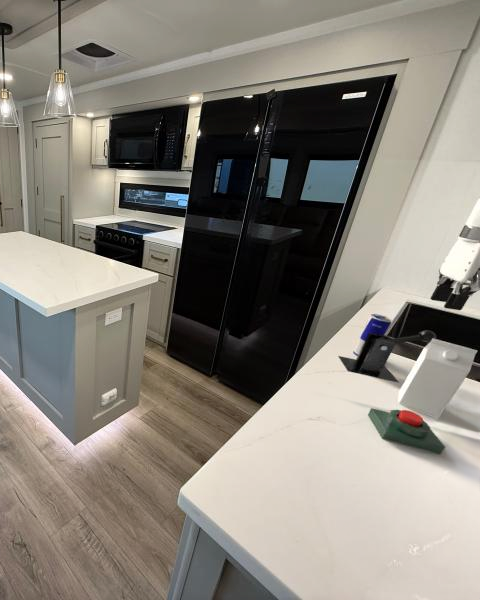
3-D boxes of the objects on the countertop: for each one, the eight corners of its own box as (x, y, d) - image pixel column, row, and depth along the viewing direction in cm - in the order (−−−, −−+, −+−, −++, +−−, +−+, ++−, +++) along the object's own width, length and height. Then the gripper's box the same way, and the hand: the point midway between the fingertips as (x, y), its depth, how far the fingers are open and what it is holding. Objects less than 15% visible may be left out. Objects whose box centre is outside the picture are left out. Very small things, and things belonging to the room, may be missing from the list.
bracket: (383, 368, 95) (400, 335, 91) (397, 385, 88) (417, 350, 83) (336, 358, 99) (351, 326, 95) (346, 374, 92) (362, 340, 87)
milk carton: (397, 394, 84) (432, 333, 77) (434, 408, 80) (475, 345, 72) (396, 406, 79) (433, 343, 72) (436, 422, 75) (479, 356, 67)
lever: (432, 337, 85) (430, 327, 85) (439, 342, 83) (437, 332, 82) (372, 346, 92) (369, 336, 91) (376, 351, 89) (374, 341, 88)
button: (414, 418, 71) (418, 412, 70) (423, 429, 68) (427, 423, 67) (394, 413, 72) (398, 407, 71) (402, 424, 69) (406, 418, 68)
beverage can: (358, 361, 98) (378, 319, 92) (348, 352, 103) (366, 312, 97) (375, 363, 98) (397, 321, 92) (365, 354, 102) (384, 314, 96)
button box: (419, 428, 73) (428, 415, 71) (440, 454, 66) (450, 441, 64) (367, 414, 76) (374, 402, 75) (381, 438, 69) (389, 425, 68)
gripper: (537, 244, 65) (488, 321, 72) (479, 231, 80) (443, 296, 87) (489, 240, 68) (446, 314, 75) (441, 228, 82) (409, 291, 89)
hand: (445, 304), depth 81 cm, fingers open, 5 cm apart
